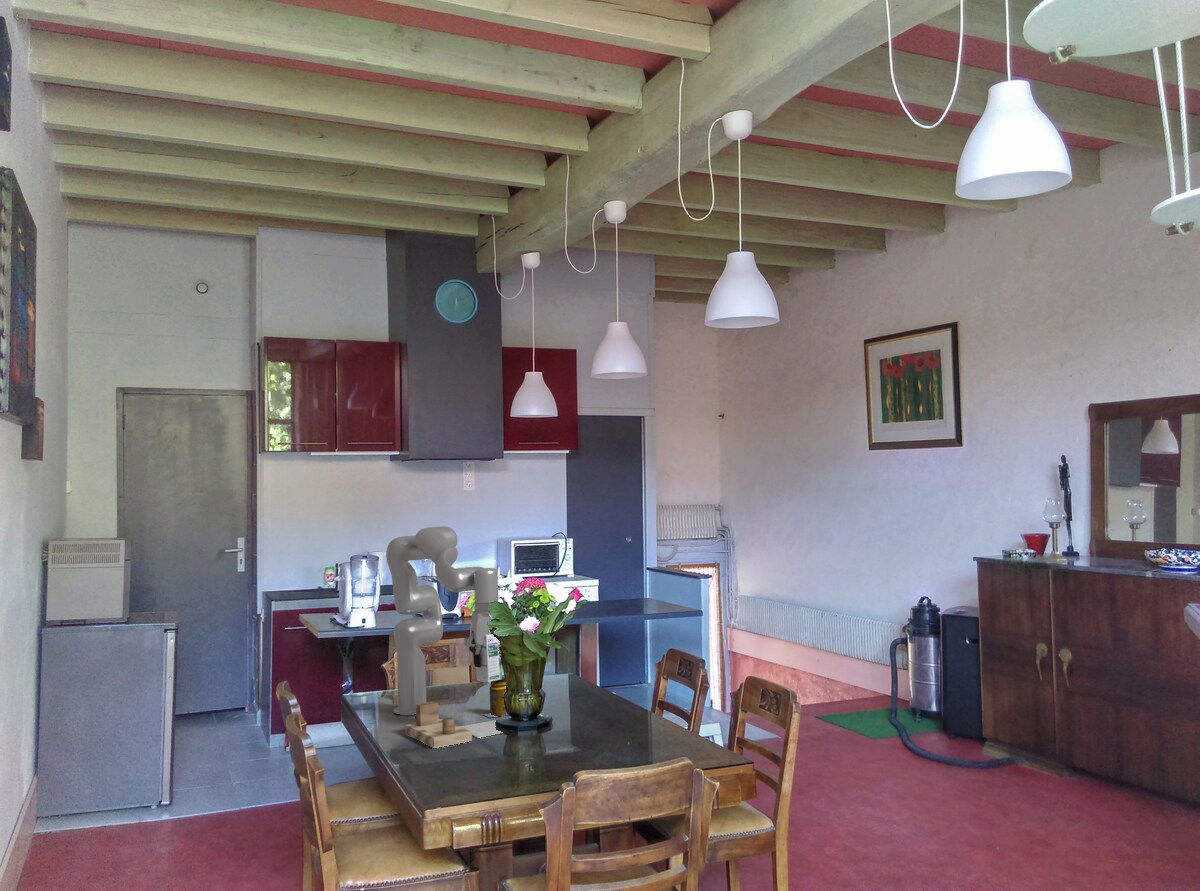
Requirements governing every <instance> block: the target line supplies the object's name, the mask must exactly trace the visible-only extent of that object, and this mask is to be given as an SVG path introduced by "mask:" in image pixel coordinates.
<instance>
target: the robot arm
mask: <svg viewBox="0 0 1200 891" xmlns="http://www.w3.org/2000/svg"><path fill="white" fill-rule="evenodd" d="M457 544H458V536H457V533H456V532H455V530H454V529H453V528H451V527H449V526H434V527H431V526H430V527H429V526H428V527H424V528H421V529H420V530H419V531H417V533H416V534H415V535H405V536H400V537H399V536H398V537H396V538H393V539H392V540H390V542H389V544H388V545H387V547H386V553H385V554H386V555H385V556H386V563H387V566H388V568H389V571H390V576H391V581H392V582H391V583H392V592H393V599H394V607H395V610H396V613H398V614H399V615H403V616H408V615H418V614H421V616H419V617H412V618H411V617H410V618H406V619H403V620H400V621H398V622H397V623H396V624H395V625H394V628H393V639H394V645H395V650H396V665H397V666H396V668H397V669H396V670H397V704H398V706H397V707H395V708H394V709H393V714H394V713H396V714H400V715H399V716H415V715H414V714H416V712H415V704H420V703H426V702H427V673H426V666H427V665H426V656H425V654H424V653H423V651H422V649H421V647H420V646H423V645H424V646H425V645H430V644H431V645H432V644H435V643H438V642H439V641H441V639H442V638H443V634H444V624H443V623H444V622H443V614H442V606H441V599H440V595H439V593H438V591H437V589H436V588H435V587H434V586H433V585H429V584H426V585H425V584H423V585H419V584H418V576H417V572H416V570H415V568H414V567H413V565H412V564H411V563H410V562H409V561H419V560H420V561H422V560H431V562H433V563H434V572H435V576H436V579H437V580H438V582H439V583H440V584H441V585H442V586H443V587H444V588H445V589H447V590H448V591H449V592H453V593H463V592H472V591H473V592H474V593H473V595H474V596H473V598H474V612H472V614H471V620H470V628H469V629H470V630H469V636H468V637H467V638H466V639H465V640H464V642H463V645H464V646H465V647H466V648H467V650H469V652H471V654H472V655H473V658H472V659H473V665H474V667H475V668H476V667H481V655H480V654H479V652H480V649H481V646H482V645H484V636H485V635H492V634H491V632H490V630H489V628H488V625H487V622H488V623H489V622H490V620H491V617H490V616H489V613H488V604H489V603H490V602H494V601H498V600H499V575H498V574H499V573H498V569H496V568H493V567H482V566H470V567H469V566H467V567H459V568H457V567H456V568H455V567H454V563H455V562H456V561H457V559H458V557H459V556H458V555H459V552H458V548H457V547H456V546H457ZM499 601H500V600H499ZM500 646H501V645H500ZM501 656H502V654H501ZM501 665H503V661H502V660H501ZM396 714H395V715H396Z"/></svg>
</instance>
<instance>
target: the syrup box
mask: <svg viewBox="0 0 1200 891" xmlns="http://www.w3.org/2000/svg"><path fill="white" fill-rule="evenodd" d="M490 640H491V641H490ZM499 647H501V646H500V641H499V640H498V639H497V638H496V637H494V635H493V634H492V635H485V636H484V645H482V646H481V649H480V652H479V654H480V655H481V667H475V670H476V681H478V682H480V683H481V682H483V683H491V681H496V680H501V679H502V677H503V676H502V675H503V672H502V671H503V670H502V669H503V668H502V664H501V657H500V656H501V654H499V652H500V653H501V651H500V648H499ZM498 650H499V651H498Z"/></svg>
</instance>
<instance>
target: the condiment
mask: <svg viewBox="0 0 1200 891" xmlns="http://www.w3.org/2000/svg"><path fill="white" fill-rule="evenodd" d="M505 678H506V677H503V676H502V679H501V680H496V681H491V682H490V687H489V713H491V715H494V716H502V715H503V717H505V716H504V715H506V711H505V706H504V698H503V697H504V693H505V691H506V685H507V684H506V683H507V681H506V682H505ZM483 714H484V713H480V715H481V716H483Z"/></svg>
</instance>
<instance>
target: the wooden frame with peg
mask: <svg viewBox="0 0 1200 891" xmlns="http://www.w3.org/2000/svg"><path fill="white" fill-rule="evenodd" d="M439 705H440V704H439V703H438V702H437V701H426V703H420V704H415V712H416V715H415V722H414V723H413V722H412V723H409V724H408V723H407V724H405V725H404V727H405V730H404V731H405V735H406V734H407V735H409V736H411V737H413V738H415V739H417V740H419V741H421V742H423V743H424V745H425V744H426V746H427V745H428V747H429V746H430V747H429V748H431V747H432V749H433V748H437V749H440V748H439V747H442V748H445V747H444V746H447V747H450V746H449V745H453V746H455V745H454V744H458V745H461V744H460V743H463V744H466V743H465V742H469V741H472V742H473V736H472V732H471V731H469V730H467V729H464V728H462V727H460V725H457V724H456V723H455V722H456V721H455V718H453V717H447V718H446V717H445V718H440V712H439V711H440V709H439V707H440V706H439ZM407 735H406V736H407ZM409 736H408V737H409ZM411 737H410V738H411ZM413 738H412V739H413ZM415 739H414V740H415ZM417 740H416V741H417ZM419 741H418V742H419ZM421 742H420V743H421ZM423 743H422V744H423ZM469 743H470V742H469Z"/></svg>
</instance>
